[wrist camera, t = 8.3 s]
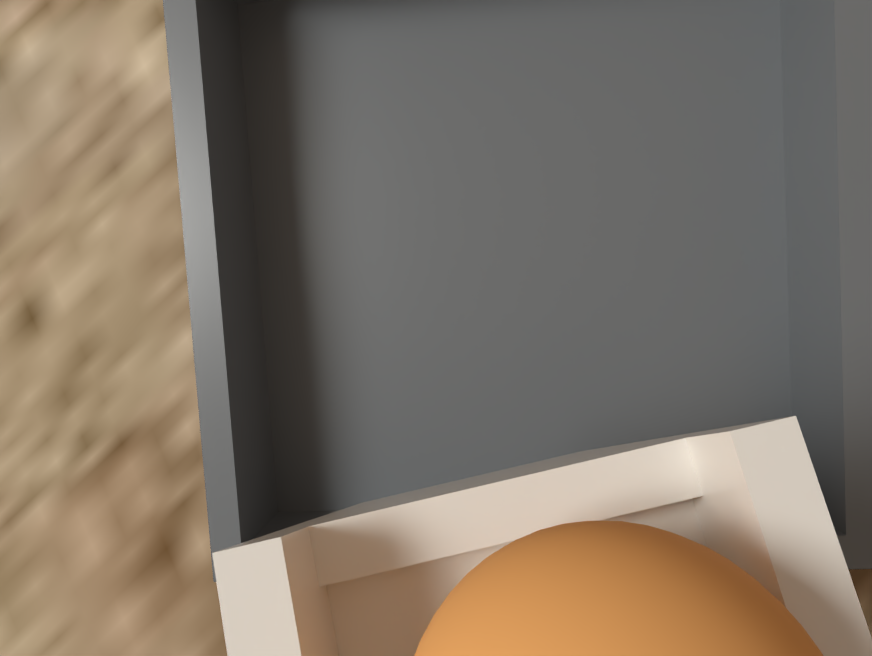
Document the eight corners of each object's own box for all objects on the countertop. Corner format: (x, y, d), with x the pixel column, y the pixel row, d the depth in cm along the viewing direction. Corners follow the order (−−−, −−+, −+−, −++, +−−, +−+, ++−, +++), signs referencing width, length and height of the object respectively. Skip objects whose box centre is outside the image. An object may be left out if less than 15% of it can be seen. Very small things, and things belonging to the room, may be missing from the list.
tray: (263, 529, 26) (213, 581, 21) (218, -10, 25) (156, -74, 20) (812, 514, 24) (883, 568, 19) (796, -73, 23) (870, -159, 18)
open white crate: (645, 689, 15) (1037, 1126, 5) (410, 747, 14) (326, 1315, 5) (581, 451, 16) (795, 415, 6) (362, 502, 16) (211, 552, 6)
